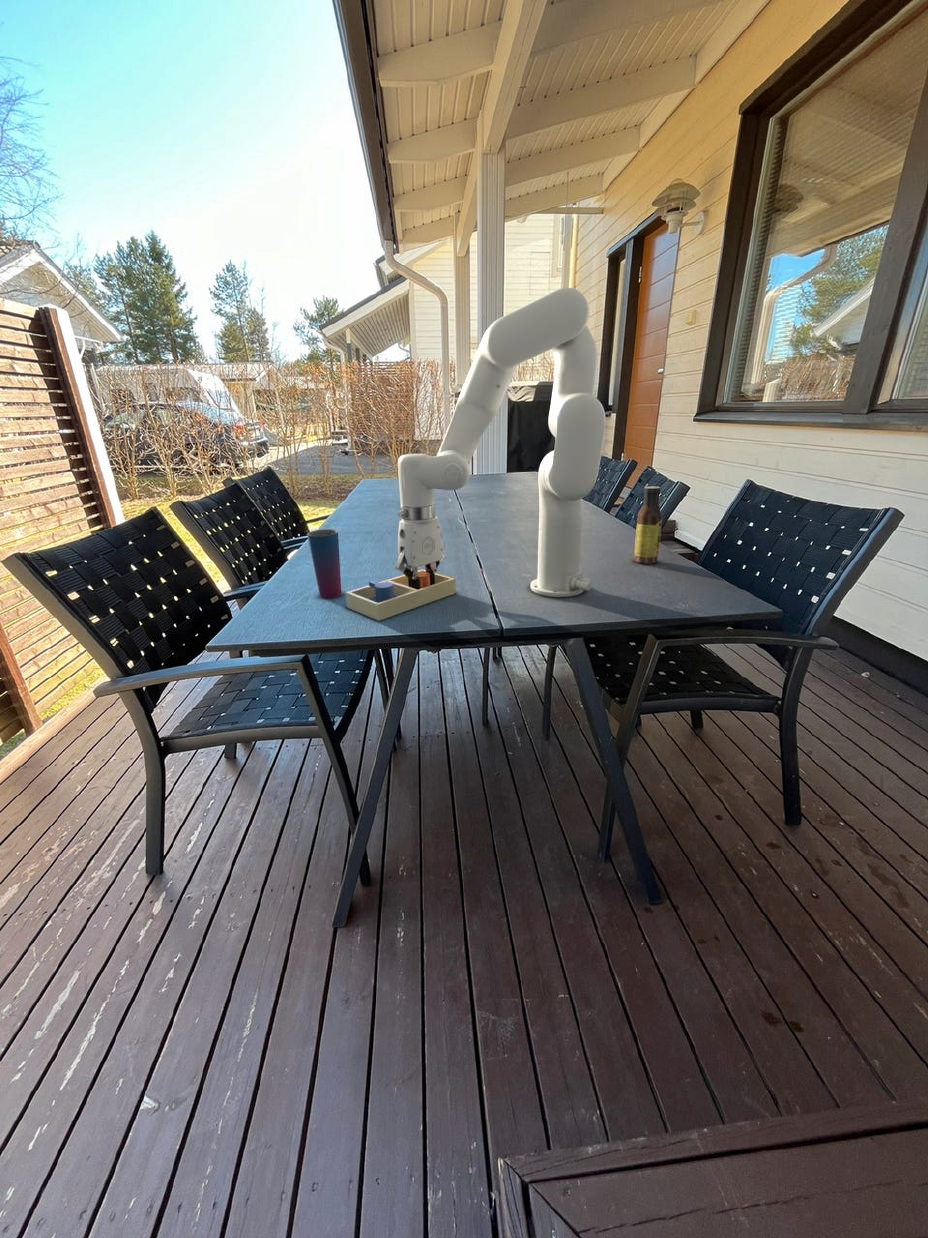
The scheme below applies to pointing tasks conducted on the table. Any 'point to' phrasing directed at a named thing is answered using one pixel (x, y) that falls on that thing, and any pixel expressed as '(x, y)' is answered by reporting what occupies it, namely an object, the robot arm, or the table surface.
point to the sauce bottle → (648, 528)
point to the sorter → (398, 597)
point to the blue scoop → (382, 590)
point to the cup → (326, 561)
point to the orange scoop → (424, 579)
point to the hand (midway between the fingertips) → (422, 590)
